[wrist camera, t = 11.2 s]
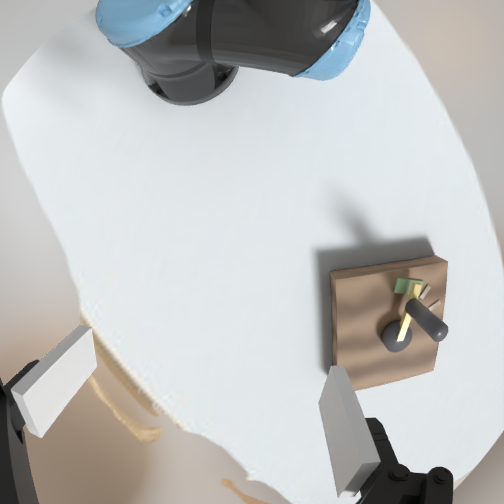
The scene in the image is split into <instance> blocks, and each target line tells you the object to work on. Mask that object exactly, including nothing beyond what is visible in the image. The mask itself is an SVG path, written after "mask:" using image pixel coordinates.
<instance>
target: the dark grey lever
mask: <svg viewBox="0 0 504 504" xmlns="http://www.w3.org/2000/svg"><path fill="white" fill-rule="evenodd" d="M421 286H422V285H421V284H420V283H415V282H413V283H412V286H411V290H410V293H409V297H408V300H407V303H406V305H405V309H404V312H403V315H402V318H401V320H396V321H393V322H391V323H389V324H388V325H387V326H386V327H385V328H384V330H383V332H382V334H381V340H382V342H383V344H384V345H385V347H386V348H387V350H388V351H390V352H393V353H396V352H400V351H402V350H404V349H405V348H406V347H407V346H408V345H409V344H410V342H411V340H412V330H411V329H410V328H409V323H410V321H411V318H412V319H413V320H414V321H415V322H416V323H417V324H418V325H419V326H420V327H421V328H422V329H423V330H424V331H425V332H426V333H427V334H428V335H429V336H430V337H431V338H432V339H433V340H434V341H435V342H440V341H442V340H443V339H444V338H445V337H446V335H447V333H448V326H447V325H446V324H445V323H444V322H443V321H441V320H440V319H439V318H438V317H437V316H436V315H435V314H434V313H432V312H431V311H430V310H429V309H428V308H427V307H425V306H424V305H423V304H422V303H421V302H420V301H418V300H417V299H418V296H419V293H420V290H421Z"/></svg>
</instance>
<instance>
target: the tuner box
mask: <svg viewBox="0 0 504 504" xmlns="http://www.w3.org/2000/svg"><path fill="white" fill-rule="evenodd" d="M447 267H448V261H446V260H444V259H442V258H440V257H438V256H430V257H424V258H418V259H412V260H405V261H399V262H392V263H386V264H379V265H372V266H366V267H359V268H352V269H345V270H337V271H330V282H331V303H332V336H333V366H345V369H346V371H347V374H348V376H349V379H350V381H351V384H352V386H353V389H354V391H356V390H361V389H366V388H370V387H375V386H379V385H383V384H387V383H391V382H395V381H399V380H403V379H407V378H410V377H414V376H417V375H421V374H424V373H427V372H430V371H433V370H434V366H435V361H436V356H437V351H438V345H439V342H435V341H434V340H433V339H432V338H431V337H430V336H429V335H428V334H427V333H426V332H425V331H424V330H423V329H422V328H421V327H420V326H419V325H418V324H417V323H416V322H415V321H414V320H413V319H412V318H411V321H410V323H409V328H410V329H411V330H412V340H411V342H410V344H409V345H408V346H407V347H406V348H405V349H404V350H402V351H400V352H396V353H393V352H390V351H388V350H387V348H386V347H385V345H384V344H383V342H382V340H381V334H382V332H383V330H384V328H385V327H386V326H387V325H388V324H389V323H391V322H393V321H396V320H401V318H402V315H403V312H404V309H405V305H406V303H407V300H408V297H409V293H410V290H411V286H412V283H413V282H415V283H420V284H421V285H422V286H421V290H420V293H419V296H418V299H417V300H418V301H420V302H421V303H422V304H423V305H424V306H425V307H427V308H428V309H429V310H430V311H431V312H432V313H434V314H435V315H436V316H437V317H438V318H439V319H440V320H441V321H442V320H443V312H444V303H445V294H446V282H447Z"/></svg>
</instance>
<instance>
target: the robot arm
mask: <svg viewBox="0 0 504 504" xmlns="http://www.w3.org/2000/svg"><path fill="white" fill-rule="evenodd" d="M370 9H371V6H370V1H369V0H99V2H98V5H97V9H96V22H97V25H98V27H99V29H100V30H101V32H102V33H103V34H104V35H105V36H106V37H107V38H108V40H109V42H110V43H111V44H112V45H115V46H117V47H118V48H120V49H121V50H122V51H123V52H125V53H126V54H127V55H128V56H129V57H131V58H132V59H133V60H134V61H135V62H136V63H138V64H139V65H140V66H141V67H142V71H143V76H144V79H145V82H146V84H147V85H148V87H149V88H150V90H151V91H152V92H153V93H155V94H156V95H157V96H158V97H160V98H161V99H163V100H164V101H166V102H169V103H172V104H175V105H185V106H186V105H196V104H200V103H203V102H206V101H208V100H211V99H213V98H214V97H216V96H218V95H219V94H220V93H222V92H223V91H224V90H225V89H226V88H227V87H228V86H229V85H230V84H231V82H232V81H233V79H234V78H235V76H236V74H237V71H238V68H239V66H241V67H248V68H255V69H261V70H267V71H273V72H278V73H283V74H288V75H289V76H291V77H305V78H311V79H316V80H321V81H323V80H329V79H333V78H335V77H337V76H338V75H340V74H341V73H342V72H343V71H344V70H345V69H346V67H347V66H348V65H349V63H350V62H351V60H352V59H353V57H354V56H355V54H356V52H357V50H358V48H359V46H360V44H361V42H362V40H363V37H364V29H365V28H366V26H367V24H368V21H369V17H370ZM96 367H97V363H96V357H95V350H94V343H93V336H92V328H91V327H88V326H85V325H79V326H78V327H77V328H76V329H75V330H74V331H73V332H71V333H70V334H69V335H68V336H67V337H66V338H65V339H64V340H63V341H61V343H59V344H58V345H57V346H56V347H55V348H54V349H53V350H52V351H50V352H49V353H48V354H47V355H46V356H45V357H44V358H43V359H42V360H41V361H39V360H35V361H33V362H30V363H29V364H27V365H26V366H25V367H24V368H23V370H21V371H20V372H19V373H18V374H16V375H15V376H14V377H13V378H12V379H11V380H10V381H9V382H8V383H7V384H6V385H5V386H3V383H2V381H1V378H0V504H39V502H38V498H37V495H36V491H35V487H34V483H33V479H32V475H31V470H30V465H29V460H28V454H27V448H26V442H25V435H24V431H23V426H24V425H25V424H26V426H27V428H28V429H29V432H31V433H33V434H34V435H36V436H38V437H40V438H42V437H43V435H44V434H45V433H46V431H47V430H48V429H49V427H50V426H51V425H52V423H53V422H54V421H55V419H56V418H57V417H58V415H59V414H60V413H61V411H62V410H63V409H64V408H65V406H66V405H67V404H68V402H69V401H70V400H71V399H72V397H73V396H74V395H75V393H76V392H77V391H78V390H79V388H80V387H81V386H82V384H83V383H84V382H85V381H86V380H87V378H88V377H89V376H90V375H91V373H92V372H93V371H94V370H95V368H96ZM318 404H319V408H320V413H321V417H322V422H323V427H324V431H325V436H326V441H327V446H328V450H329V455H330V460H331V465H332V470H333V475H334V480H335V485H336V490H337V496H338V498H343V497H353V496H355V495H356V494H357V493H358V492H359V490H360V492H361V496H362V497H361V498H360V499H359V500H358V502H357V503H356V504H452V501H453V475H452V473H451V472H450V471H449V470H448V469H446V468H444V467H435V468H432V469H431V470H430V471H429V472H428V474H425V473H413V472H410V470H409V469H408V468H407V467H406V466H404V465H402V464H399V463H398V461H397V458H396V456H395V453H394V451H393V449H392V446H391V444H390V441H389V440H388V437H387V434H386V432H385V429H384V427H383V425H382V424H381V423H380V422H379V421H378V420H377V419H376V418H365V417H364V415H363V412H362V409H361V407H360V404H359V402H358V399H357V396H356V394H355V391H354V389H353V386H352V384H351V381H350V379H349V376H348V374H347V371H346V369H345V366H331V367H330V370H329V373H328V376H327V380H326V383H325V386H324V389H323V391H322V394H321V397H320V400H319V403H318Z"/></svg>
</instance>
